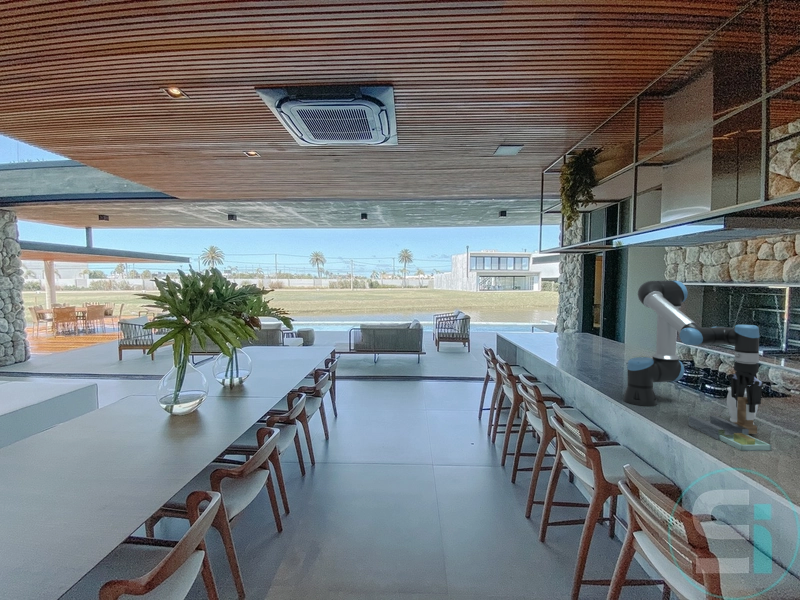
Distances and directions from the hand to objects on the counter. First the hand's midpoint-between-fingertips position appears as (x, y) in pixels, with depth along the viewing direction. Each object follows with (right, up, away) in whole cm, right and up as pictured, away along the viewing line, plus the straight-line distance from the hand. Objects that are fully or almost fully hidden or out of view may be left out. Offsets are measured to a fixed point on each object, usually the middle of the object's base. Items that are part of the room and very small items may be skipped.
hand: (745, 417), depth 160 cm
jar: (+10, -6, +13) cm, 18 cm away
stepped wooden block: (0, -6, 0) cm, 6 cm away
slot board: (-10, -7, +2) cm, 12 cm away
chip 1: (-10, -7, -9) cm, 15 cm away
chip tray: (-10, -7, -11) cm, 16 cm away
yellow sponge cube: (-10, -5, -11) cm, 16 cm away
